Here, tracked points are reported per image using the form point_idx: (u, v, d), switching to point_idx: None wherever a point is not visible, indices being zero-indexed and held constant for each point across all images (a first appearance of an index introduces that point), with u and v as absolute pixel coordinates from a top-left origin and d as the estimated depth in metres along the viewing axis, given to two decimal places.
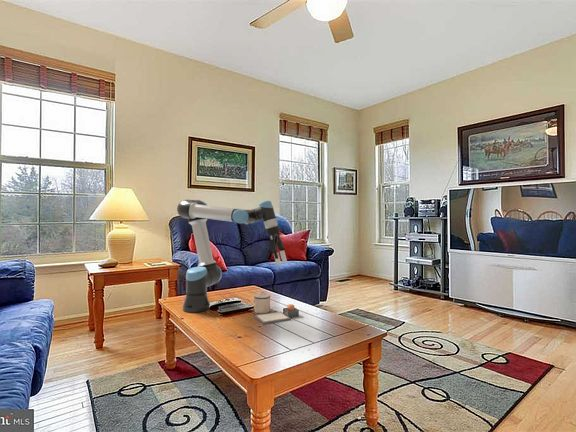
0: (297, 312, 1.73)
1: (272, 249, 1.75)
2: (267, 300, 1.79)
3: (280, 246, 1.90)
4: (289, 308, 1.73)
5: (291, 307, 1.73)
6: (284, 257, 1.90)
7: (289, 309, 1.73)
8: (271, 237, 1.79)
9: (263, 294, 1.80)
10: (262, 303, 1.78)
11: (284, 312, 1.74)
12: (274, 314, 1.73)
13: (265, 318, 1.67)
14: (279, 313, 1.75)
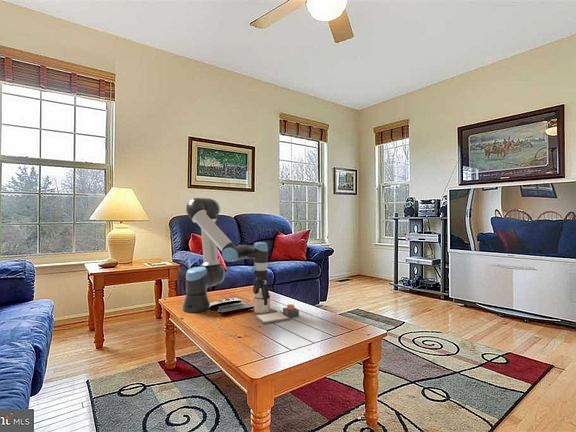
0: (297, 312, 1.73)
1: (266, 295, 1.74)
2: None
3: (258, 289, 1.87)
4: (289, 308, 1.73)
5: (291, 307, 1.73)
6: None
7: (289, 309, 1.73)
8: (265, 282, 1.77)
9: None
10: (262, 303, 1.77)
11: (284, 312, 1.74)
12: (274, 314, 1.73)
13: (265, 318, 1.67)
14: (279, 313, 1.75)
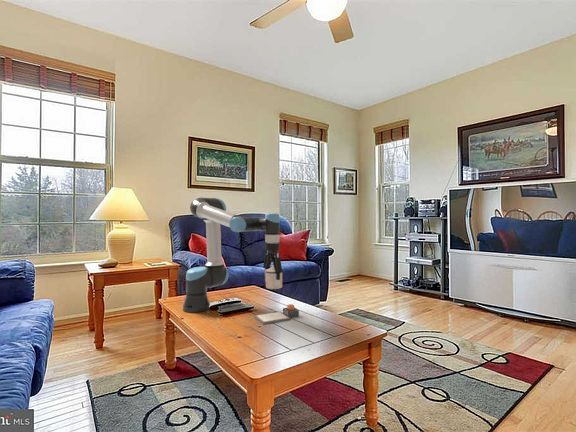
0: (297, 312, 1.73)
1: (279, 269, 1.61)
2: None
3: (269, 264, 1.74)
4: (289, 308, 1.73)
5: (291, 307, 1.73)
6: None
7: (289, 309, 1.73)
8: (277, 255, 1.63)
9: None
10: (274, 278, 1.64)
11: (284, 312, 1.74)
12: (274, 314, 1.73)
13: (265, 318, 1.67)
14: (279, 313, 1.75)
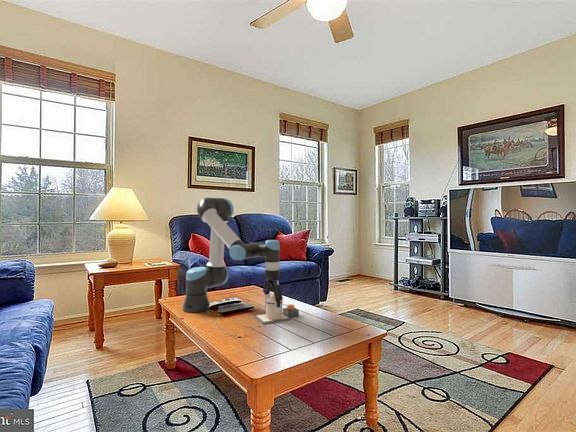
0: (297, 312, 1.73)
1: (279, 297, 1.61)
2: None
3: (269, 290, 1.74)
4: (289, 308, 1.73)
5: (291, 307, 1.73)
6: None
7: (289, 309, 1.73)
8: (277, 283, 1.63)
9: None
10: (274, 309, 1.64)
11: (284, 312, 1.74)
12: None
13: (265, 318, 1.67)
14: None
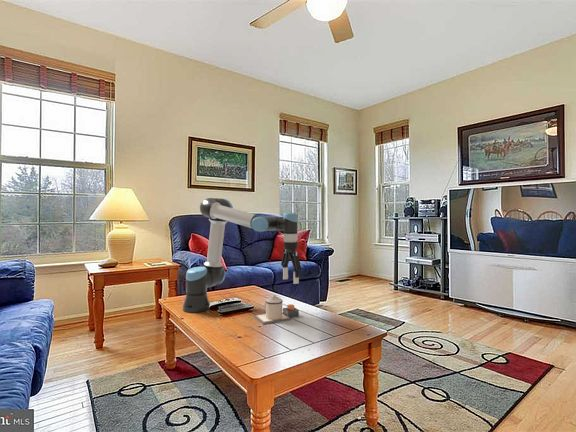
0: (297, 312, 1.73)
1: (298, 267, 1.66)
2: (279, 305, 1.65)
3: (287, 262, 1.79)
4: (289, 308, 1.73)
5: (291, 307, 1.73)
6: (286, 275, 1.80)
7: (289, 309, 1.73)
8: (296, 254, 1.68)
9: (275, 299, 1.66)
10: (274, 309, 1.64)
11: (284, 312, 1.74)
12: None
13: (265, 318, 1.67)
14: None
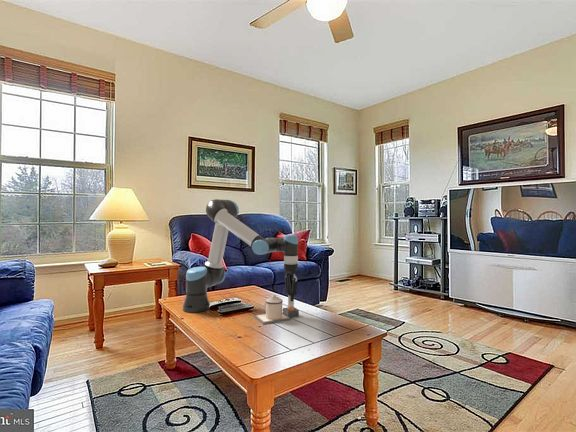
0: (297, 312, 1.73)
1: (293, 292, 1.71)
2: (279, 305, 1.65)
3: None
4: (289, 310, 1.73)
5: (291, 309, 1.73)
6: None
7: None
8: (296, 280, 1.69)
9: (275, 299, 1.66)
10: (274, 309, 1.64)
11: (284, 312, 1.74)
12: None
13: (265, 318, 1.67)
14: None
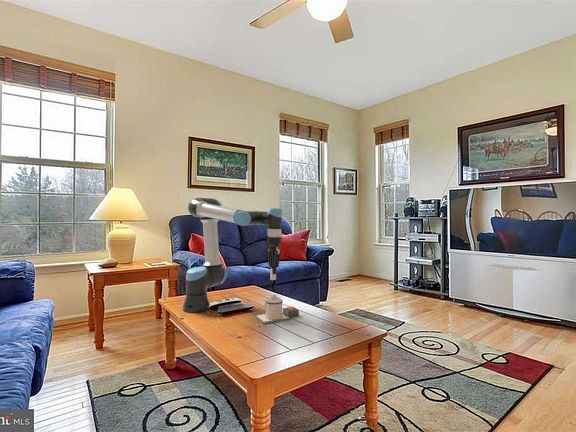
0: (297, 312, 1.73)
1: (275, 265, 1.72)
2: (279, 305, 1.65)
3: None
4: (289, 310, 1.73)
5: (291, 309, 1.73)
6: None
7: None
8: (278, 253, 1.70)
9: (275, 299, 1.66)
10: (274, 309, 1.64)
11: (284, 312, 1.74)
12: None
13: (265, 318, 1.67)
14: None
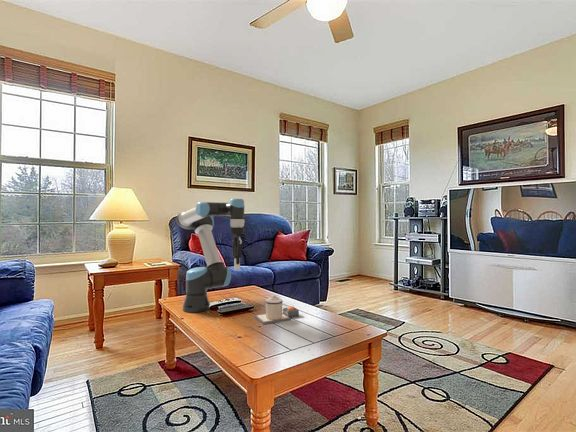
0: (297, 312, 1.73)
1: (238, 255, 1.73)
2: (279, 305, 1.65)
3: None
4: (289, 310, 1.73)
5: (291, 309, 1.73)
6: None
7: None
8: (240, 242, 1.71)
9: (275, 299, 1.66)
10: (274, 309, 1.64)
11: (284, 312, 1.74)
12: None
13: (265, 318, 1.67)
14: None
